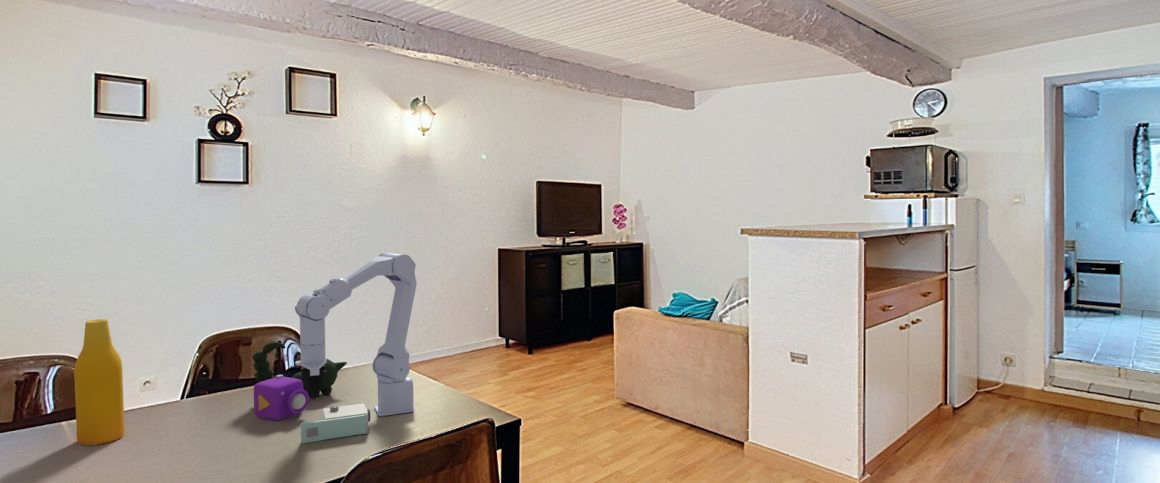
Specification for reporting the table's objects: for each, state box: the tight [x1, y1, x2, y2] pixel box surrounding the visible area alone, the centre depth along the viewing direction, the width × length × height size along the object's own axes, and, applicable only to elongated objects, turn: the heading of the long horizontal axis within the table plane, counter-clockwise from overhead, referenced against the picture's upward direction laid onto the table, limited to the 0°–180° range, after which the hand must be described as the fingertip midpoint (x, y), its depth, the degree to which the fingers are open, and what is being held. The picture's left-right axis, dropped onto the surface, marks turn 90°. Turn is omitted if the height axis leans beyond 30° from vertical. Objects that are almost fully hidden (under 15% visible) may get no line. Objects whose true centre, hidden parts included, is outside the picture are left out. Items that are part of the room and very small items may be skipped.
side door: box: [300, 414, 369, 444], centre depth 151 cm, size 16×1×5 cm, turn 116°
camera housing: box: [322, 402, 371, 423], centre depth 157 cm, size 11×8×6 cm
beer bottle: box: [73, 318, 126, 446], centre depth 148 cm, size 9×9×29 cm
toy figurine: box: [252, 341, 348, 396], centre depth 181 cm, size 9×19×25 cm
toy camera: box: [253, 374, 310, 421], centre depth 167 cm, size 11×14×10 cm
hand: (313, 396), depth 154 cm, fingers open, 2 cm apart
